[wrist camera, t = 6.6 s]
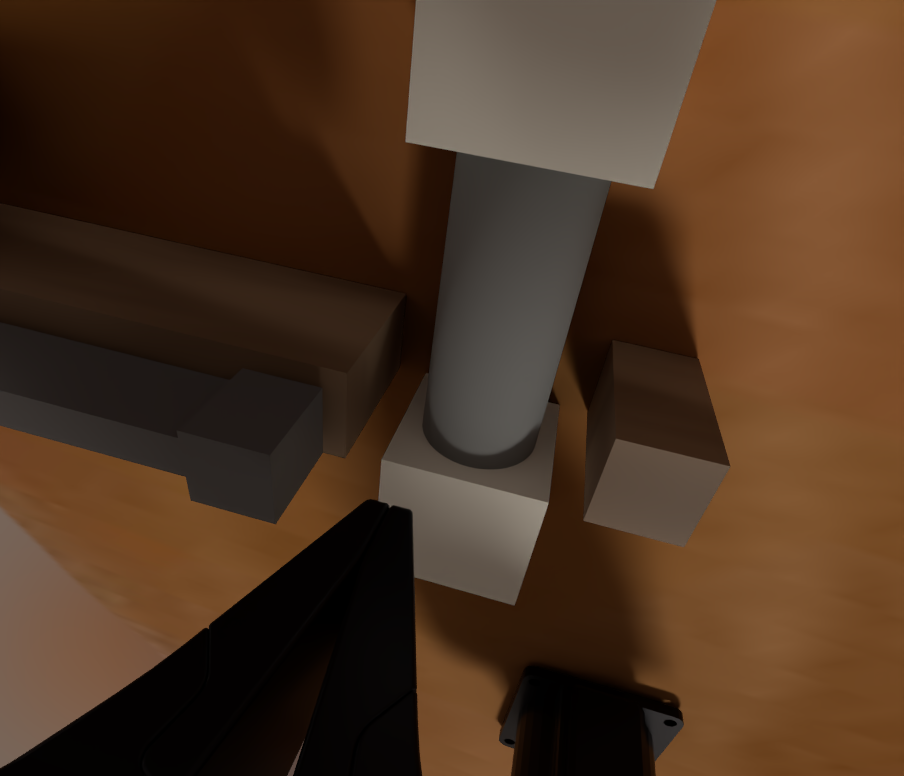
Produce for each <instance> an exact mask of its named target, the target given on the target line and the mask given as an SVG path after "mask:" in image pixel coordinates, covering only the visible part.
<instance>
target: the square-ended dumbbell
mask: <svg viewBox="0 0 904 776" xmlns="http://www.w3.org/2000/svg"><path fill="white" fill-rule="evenodd" d="M715 3H716V0H416V9H415V22H414V35H413V48H412V62H411V75H410V88H409V102H408V115H407V128H406V141H405V142H409V143H414V144H419V145H424V146H430V147H435V148H440V149H445V150H451V151H456V152H457V155H456V163H455V171H454V179H453V187H452V195H451V202H450V210H449V218H448V226H447V234H446V242H445V250H444V258H443V265H442V273H441V281H440V289H439V297H438V305H437V313H436V321H435V329H434V336H433V344H432V352H431V360H430V368H429V373H426V374H425V376H424V378H423V380H422V381H421V383H420V385H419V387H418V389H417V391H416V393H415V395H414V397H413V399H412V401H411V403H410V405H409V407H408V409H407V411H406V413H405V415H404V417H403V419H402V420H401V422H400V424H399V426H398V428H397V430H396V432H395V434H394V436H393V438H392V440H391V442H390V444H389V446H388V448H387V450H386V452H385V454H384V456H383V457H382V460H381V473H380V486H379V500H378V501H380V502H384V503H387V504H389V506H390V507H391V506H393V505H395V506H399V507H403V508H407V509H410V510H411V511H412V512H413V543H414V577H416V578H419V579H423V580H426V581H430V582H433V583H437V584H440V585H444V586H447V587H451V588H454V589H458V590H461V591H465V592H468V593H472V594H475V595H479V596H482V597H486V598H489V599H493V600H497V601H500V602H504V603H507V604H511V605H514V606H515V603H516V600H517V597H518V594H519V591H520V588H521V585H522V582H523V579H524V576H525V573H526V570H527V567H528V564H529V561H530V558H531V555H532V552H533V549H534V546H535V543H536V540H537V537H538V534H539V531H540V528H541V525H542V522H543V519H544V516H545V513H546V510H547V507H548V504H549V497H550V488H551V479H552V470H553V461H554V452H555V443H556V434H557V425H558V416H559V408H560V405H558V404H554V403H550V402H548V400H549V396H550V393H551V389H552V386H553V382H554V379H555V375H556V372H557V368H558V365H559V361H560V358H561V354H562V351H563V347H564V344H565V340H566V337H567V334H568V330H569V327H570V323H571V320H572V316H573V313H574V309H575V306H576V302H577V299H578V295H579V292H580V288H581V285H582V281H583V278H584V274H585V271H586V268H587V264H588V261H589V257H590V254H591V250H592V247H593V243H594V240H595V236H596V233H597V229H598V226H599V222H600V219H601V215H602V212H603V208H604V205H605V201H606V198H607V195H608V191H609V188H610V184H611V181H614V182H619V183H624V184H629V185H635V186H640V187H645V188H650V189H654V186H655V183H656V180H657V177H658V174H659V171H660V168H661V165H662V162H663V159H664V156H665V153H666V150H667V147H668V144H669V141H670V138H671V135H672V132H673V129H674V126H675V123H676V120H677V117H678V114H679V111H680V108H681V105H682V102H683V99H684V96H685V93H686V90H687V87H688V84H689V81H690V78H691V75H692V72H693V69H694V66H695V63H696V60H697V57H698V54H699V51H700V48H701V45H702V42H703V39H704V36H705V33H706V30H707V27H708V24H709V21H710V18H711V15H712V12H713V9H714V6H715Z"/></svg>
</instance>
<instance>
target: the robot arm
mask: <svg viewBox="0 0 904 776" xmlns="http://www.w3.org/2000/svg"><path fill="white" fill-rule="evenodd" d="M416 689H417V677H416V632H415V587H414V543H413V512H412V511H411V510H410V509H407V508H403V507H399V506H395V505H393V506H391V507H390V506H389V504H387V503H384V502H380V501H376V500H372V499H369V500H366V501H365V502H363V503H362V504H361V505H360V506H358V507H357V508H356V509H354V510H353V511H352V512H351V513H349V514H348V515H347V516H346V517H344V518H343V519H342V520H341V521H339V522H338V523H337V524H336V525H334V526H333V527H332V528H331V529H329V530H328V531H327V532H326V533H324V534H323V535H322V536H320V537H319V538H318V539H317V540H315V541H314V542H313V543H312V544H310V545H309V546H308V547H307V548H305V549H304V550H303V551H302V552H300V553H299V554H298V555H297V556H295V557H294V558H293V559H291V560H290V561H289V562H288V563H286V564H285V565H284V566H283V567H281V568H280V569H279V570H278V571H276V572H275V573H274V574H273V575H271V576H270V577H269V578H267V579H266V580H265V581H264V582H262V583H261V584H260V585H259V586H257V587H256V588H255V589H254V590H252V591H251V592H250V593H249V594H247V595H246V596H245V597H244V598H242V599H241V600H240V601H238V602H237V603H236V604H235V605H233V606H232V607H231V608H230V609H228V610H227V611H226V612H225V613H223V614H222V615H221V616H220V617H218V618H217V619H216V620H215V621H213V622H212V623H211V624H210V625H209V629H208V628H204V629H203V630H202V631H200V632H199V633H198V634H197V635H195V636H194V637H193V638H192V639H190V640H189V641H188V642H187V643H185V644H184V645H183V646H181V647H180V648H179V649H177V650H176V651H175V652H173V653H172V654H171V655H169V656H168V657H167V658H165V659H164V660H163V661H162V662H160V663H159V664H158V665H156V666H155V667H154V668H152V669H151V670H149V671H148V672H146V673H145V674H143V675H142V676H140V677H139V678H138V679H136V680H135V681H133V682H132V683H130V684H129V685H128V686H126V687H124V688H123V689H122V690H120V691H119V692H117V693H116V694H114V695H113V696H111V697H110V698H108V699H107V700H105V701H104V702H102V703H101V704H99V705H97V706H96V707H95V708H93V709H92V710H90V711H89V712H87V713H85V714H84V715H82V716H81V717H79V718H78V719H76V720H75V721H73V722H72V723H70V724H69V725H67V726H66V727H64V728H63V729H61V730H60V731H58V732H56V733H55V734H53V735H52V736H50V737H49V738H47V739H46V740H44V741H43V742H41V743H40V744H38V745H37V746H35V747H34V748H32V749H31V750H29V751H28V752H26V753H25V754H23V755H21V756H20V757H18V758H17V759H16V760H14V761H12V762H11V763H9V764H7V765H5V766H3V767H2V768H0V776H287V775H288V773H289V771H290V769H291V767H292V765H293V762H294V760H295V758H296V756H297V754H298V752H299V750H300V748H301V746H302V743H303V741H304V743H303V746H302V749H301V752H300V756H299V759H298V762H297V765H296V768H295V771H294V775H293V776H422V771H421V762H420V752H419V734H418V711H417V693H416ZM683 725H684V723H683V715H682V712H681V711H680V710H679V709H677V708H675V707H672V706H669V705H665V704H662V703H659V702H655V701H652V700H648V699H645V698H642V697H638V696H635V695H631V694H628V693H625V692H621V691H618V690H615V689H611V688H608V687H604V686H601V685H598V684H594V683H591V682H588V681H584V680H581V679H577V678H574V677H571V676H567V675H564V674H560V673H557V672H554V671H550V670H547V669H544V668H540V667H536V666H529V667H526V668H525V669H524V671H523V674H522V676H521V679H520V681H519V684H518V686H517V689H516V692H515V694H514V697H513V699H512V702H511V704H510V707H509V709H508V712H507V714H506V717H505V719H504V722H503V724H502V727H501V729H500V736H499V741H500V742H501V743H502V744H503V745H505V746H508V747H511V748H514V755H513V763H512V772H511V776H656V773H655V761H656V759H657V758H658V757H659V756H660V754H661V753H662V752H663V751H664V750H665V748H666V747H667V746H668V745H669V743H670V742H671V741H672V740H673V738H674V737H675V736H676V735H677V733H678V732H679V731H680V730H681V729H682V727H683ZM304 739H305V740H304Z"/></svg>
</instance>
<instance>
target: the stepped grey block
mask: <svg viewBox="0 0 904 776" xmlns="http://www.w3.org/2000/svg"><path fill="white" fill-rule="evenodd" d="M0 426H4V427H8V428H11V429H15V430H18V431H22V432H26V433H29V434H33V435H37V436H40V437H44V438H47V439H51V440H55V441H58V442H62V443H65V444H69V445H73V446H76V447H80V448H84V449H87V450H91V451H94V452H98V453H102V454H105V455H109V456H113V457H116V458H120V459H123V460H127V461H131V462H134V463H138V464H142V465H145V466H149V467H152V468H156V469H160V470H163V471H167V472H171V473H174V474H178V475H181V476H185V477H186V479H187V484H188V489H189V494H190V499H191V501H195V502H198V503H202V504H206V505H209V506H213V507H216V508H220V509H223V510H227V511H231V512H234V513H238V514H241V515H245V516H248V517H252V518H255V519H259V520H263V521H266V522H270V523H273V524H276V523H277V521H278V520H279V518H280V517H281V515H282V514H283V512H284V511H285V509H286V508H287V506H288V505H289V503H290V502H291V500H292V498H293V497H294V495H295V494H296V492H297V491H298V489H299V488H300V486H301V485H302V483H303V482H304V480H305V479H306V477H307V476H308V474H309V473H310V471H311V470H312V468H313V467H314V465H315V464H316V462H317V461H318V459H319V458H320V456H321V455H322V453H323V396H322V388H321V387H317V386H313V385H309V384H304V383H300V382H296V381H292V380H288V379H284V378H280V377H276V376H272V375H268V374H264V373H260V372H256V371H252V370H248V369H244V368H242V369H241V370H240V371H239V372H238V373H237V374H236V375H235V376H234V377H233V378H232V379H230V380H228V379H224V378H220V377H216V376H212V375H208V374H204V373H200V372H196V371H192V370H188V369H184V368H180V367H176V366H172V365H168V364H164V363H160V362H156V361H152V360H149V359H145V358H141V357H137V356H133V355H129V354H125V353H121V352H117V351H113V350H109V349H105V348H101V347H97V346H93V345H89V344H85V343H81V342H77V341H73V340H69V339H65V338H61V337H57V336H53V335H49V334H45V333H41V332H37V331H33V330H29V329H25V328H21V327H17V326H13V325H9V324H5V323H1V322H0Z"/></svg>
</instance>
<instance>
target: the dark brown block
mask: <svg viewBox="0 0 904 776" xmlns="http://www.w3.org/2000/svg"><path fill="white" fill-rule="evenodd" d="M405 301H406V294H405V293H401V292H396V291H392V290H387V289H383V288H378V287H374V286H369V285H365V284H360V283H356V282H351V281H347V280H342V279H338V278H333V277H329V276H324V275H320V274H316V273H311V272H307V271H302V270H298V269H293V268H289V267H284V266H280V265H275V264H271V263H266V262H262V261H257V260H253V259H248V258H244V257H239V256H235V255H230V254H226V253H221V252H217V251H212V250H208V249H203V248H199V247H195V246H190V245H186V244H181V243H177V242H172V241H168V240H163V239H159V238H154V237H150V236H145V235H141V234H136V233H132V232H127V231H123V230H118V229H114V228H109V227H105V226H100V225H96V224H91V223H87V222H82V221H78V220H74V219H69V218H65V217H60V216H56V215H51V214H47V213H42V212H38V211H33V210H29V209H24V208H20V207H15V206H11V205H6V204H2V203H0V322H1V323H5V324H9V325H13V326H17V327H21V328H25V329H29V330H33V331H37V332H41V333H45V334H49V335H53V336H57V337H61V338H65V339H69V340H73V341H77V342H81V343H85V344H89V345H93V346H97V347H101V348H105V349H109V350H113V351H117V352H121V353H125V354H129V355H133V356H137V357H141V358H145V359H149V360H152V361H156V362H160V363H164V364H168V365H172V366H176V367H180V368H184V369H188V370H192V371H196V372H200V373H204V374H208V375H212V376H216V377H220V378H224V379H228V380H230V379H232V378H233V377H234V376H235V375H236V374H237V373H238V372H239V371H240V370H241V369H242V368H244V369H248V370H252V371H256V372H260V373H264V374H268V375H272V376H276V377H280V378H284V379H288V380H292V381H296V382H300V383H304V384H309V385H313V386H317V387H321V388H322V396H323V453H327V454H331V455H335V456H338V457H342V458H346V456H347V454H348V453H349V451H350V449H351V448H352V446H353V444H354V443H355V441H356V439H357V438H358V436H359V434H360V433H361V431H362V429H363V428H364V426H365V424H366V423H367V421H368V419H369V418H370V416H371V414H372V413H373V411H374V409H375V408H376V406H377V404H378V403H379V401H380V399H381V398H382V396H383V394H384V393H385V391H386V389H387V388H388V386H389V384H390V383H391V381H392V379H393V378H394V376H395V374H396V373H397V371H398V369H399V368H400V357H401V346H402V335H403V323H404V312H405ZM729 468H730V464H729V460H728V457H727V453H726V450H725V447H724V443H723V440H722V436H721V433H720V430H719V426H718V423H717V419H716V416H715V413H714V409H713V406H712V402H711V399H710V396H709V392H708V389H707V385H706V382H705V379H704V375H703V372H702V368H701V365H700V362H699V359H696V358H692V357H687V356H683V355H679V354H674V353H670V352H665V351H661V350H656V349H652V348H647V347H643V346H638V345H634V344H629V343H625V342H620V341H616V340H612V343H611V346H610V349H609V351H608V354H607V357H606V360H605V363H604V366H603V369H602V372H601V375H600V378H599V380H598V383H597V386H596V389H595V392H594V395H593V398H592V401H591V404H590V407H589V409H588V412H587V438H586V464H585V490H584V517H583V521H586V522H590V523H594V524H598V525H601V526H605V527H609V528H613V529H617V530H620V531H624V532H628V533H632V534H636V535H639V536H643V537H647V538H651V539H655V540H659V541H662V542H666V543H670V544H674V545H678V546H681V547H684V546H685V544H686V543H687V541H688V539H689V537H690V536H691V534H692V532H693V531H694V529H695V527H696V525H697V524H698V522H699V520H700V518H701V517H702V515H703V513H704V511H705V510H706V508H707V506H708V505H709V503H710V501H711V499H712V498H713V496H714V494H715V492H716V491H717V489H718V487H719V485H720V484H721V482H722V480H723V478H724V477H725V475H726V473H727V472H728V470H729Z"/></svg>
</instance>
